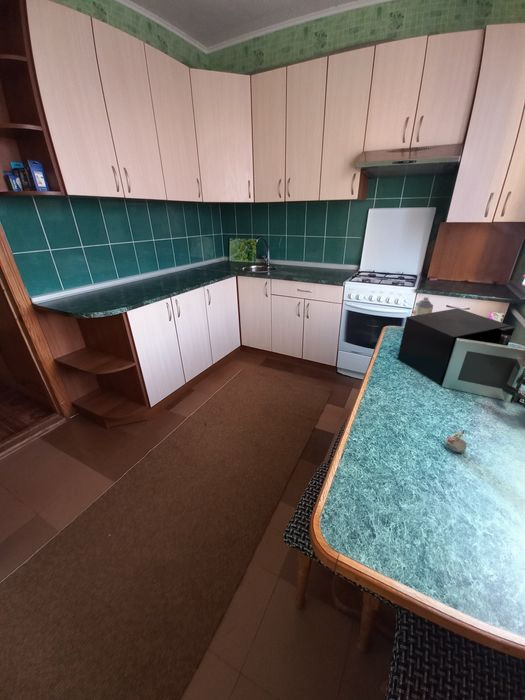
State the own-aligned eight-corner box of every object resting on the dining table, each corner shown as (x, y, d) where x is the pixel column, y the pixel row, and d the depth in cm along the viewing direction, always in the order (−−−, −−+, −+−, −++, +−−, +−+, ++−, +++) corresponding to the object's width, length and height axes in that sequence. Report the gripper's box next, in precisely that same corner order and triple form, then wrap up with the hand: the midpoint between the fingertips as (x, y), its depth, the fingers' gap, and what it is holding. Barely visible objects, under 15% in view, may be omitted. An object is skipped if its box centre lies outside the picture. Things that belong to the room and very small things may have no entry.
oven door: (518, 413, 86) (543, 361, 78) (442, 396, 94) (458, 347, 86) (512, 399, 92) (535, 349, 84) (441, 384, 100) (456, 337, 92)
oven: (499, 373, 106) (517, 328, 98) (445, 388, 98) (460, 340, 90) (445, 348, 125) (457, 308, 117) (397, 358, 117) (406, 316, 109)
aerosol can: (410, 335, 137) (420, 294, 128) (426, 339, 133) (437, 297, 123) (405, 340, 132) (415, 297, 123) (421, 344, 128) (432, 300, 119)
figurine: (467, 457, 72) (474, 439, 69) (447, 454, 73) (454, 436, 70) (458, 441, 76) (465, 424, 74) (440, 439, 77) (446, 422, 74)
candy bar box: (477, 347, 125) (490, 311, 118) (491, 350, 122) (505, 313, 115) (472, 356, 118) (485, 318, 110) (487, 360, 115) (501, 321, 107)
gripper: (610, 399, 71) (535, 368, 85) (573, 412, 67) (501, 377, 80) (595, 423, 74) (525, 389, 88) (559, 437, 70) (492, 399, 84)
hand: (514, 383), depth 84 cm, fingers open, 8 cm apart
